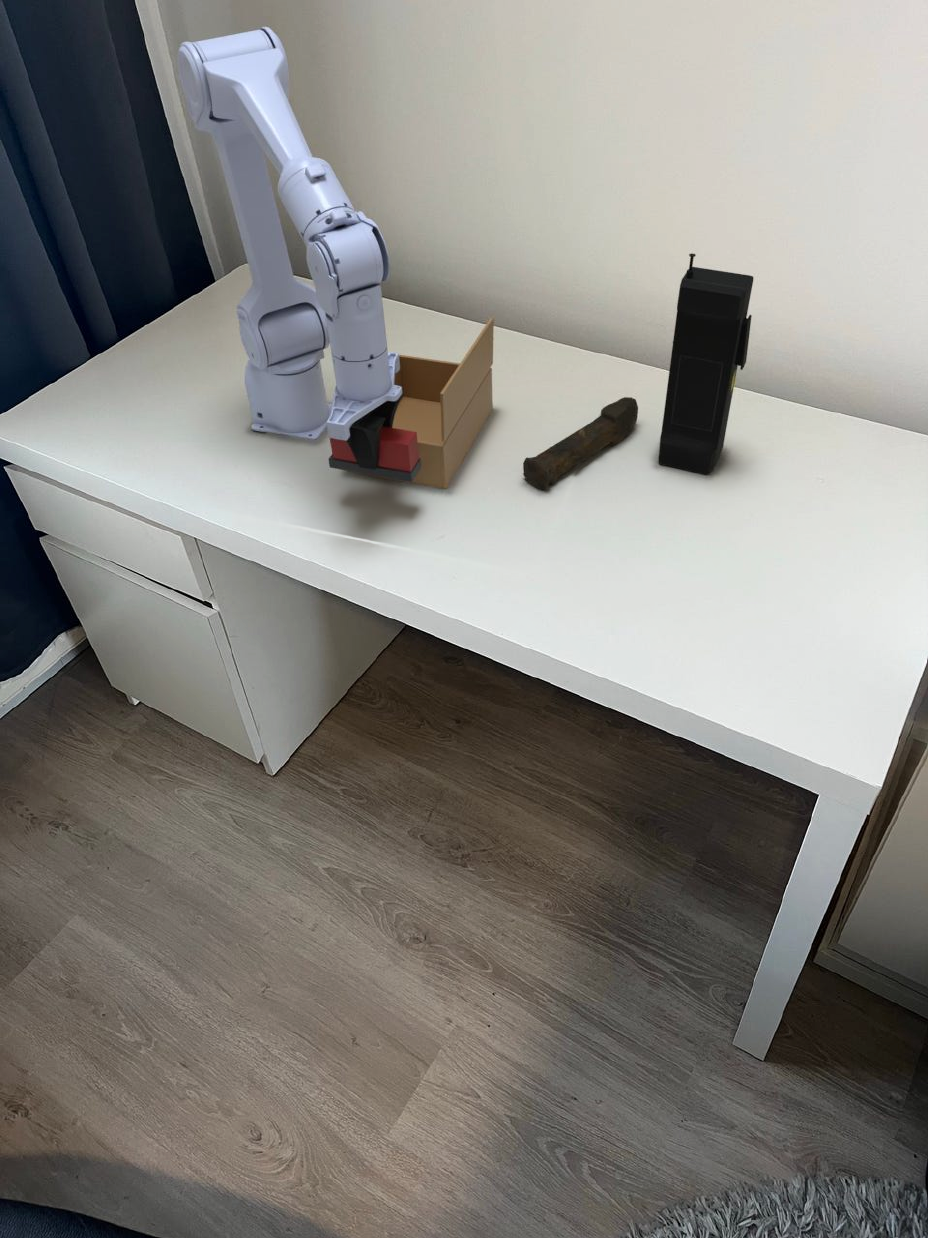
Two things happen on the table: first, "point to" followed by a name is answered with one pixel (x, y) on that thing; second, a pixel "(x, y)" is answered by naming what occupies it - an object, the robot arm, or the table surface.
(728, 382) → the portable radio
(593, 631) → the table surface
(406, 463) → the stapler
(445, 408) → the flap
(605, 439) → the brown rough bar
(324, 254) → the robot arm
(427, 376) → the carton
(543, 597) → the table surface
